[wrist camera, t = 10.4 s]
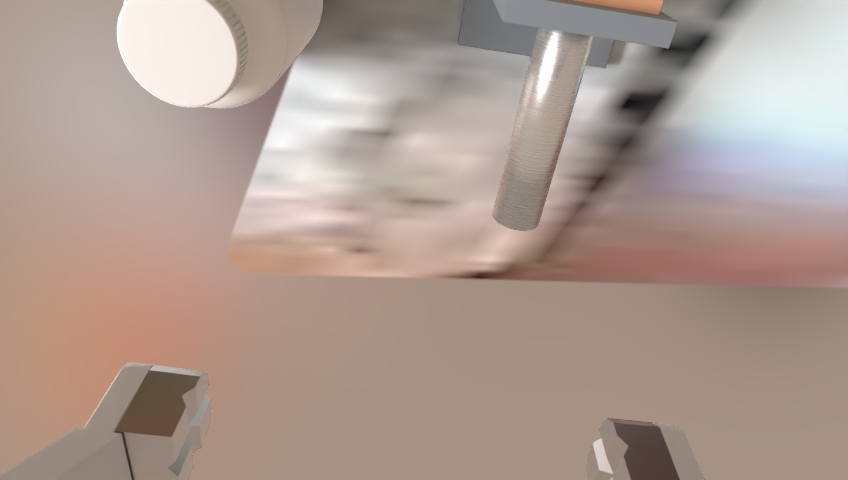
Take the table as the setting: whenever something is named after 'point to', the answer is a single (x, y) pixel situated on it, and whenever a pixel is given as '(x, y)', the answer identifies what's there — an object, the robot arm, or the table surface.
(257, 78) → the pill bottle
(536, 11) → the grey post stand
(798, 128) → the table surface
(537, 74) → the shaft
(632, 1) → the spacer
